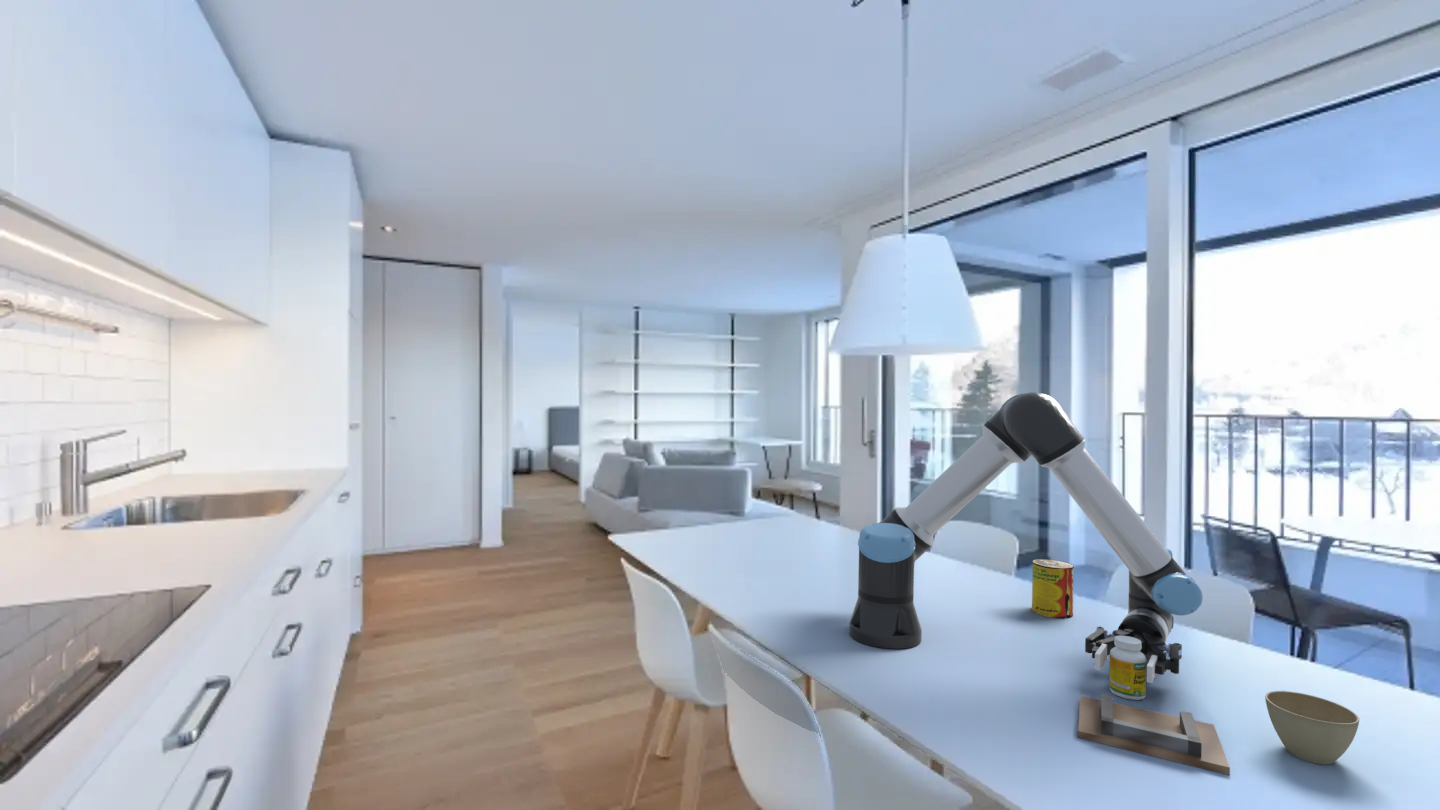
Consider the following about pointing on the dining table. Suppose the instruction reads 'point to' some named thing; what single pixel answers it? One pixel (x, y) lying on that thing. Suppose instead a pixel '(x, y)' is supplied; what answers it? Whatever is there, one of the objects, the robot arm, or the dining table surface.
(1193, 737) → the u rest
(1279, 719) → the beige bowl
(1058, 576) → the yellow red tin can
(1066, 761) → the dining table surface
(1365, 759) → the dining table surface
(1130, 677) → the supplement bottle
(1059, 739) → the dining table surface
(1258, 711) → the dining table surface
